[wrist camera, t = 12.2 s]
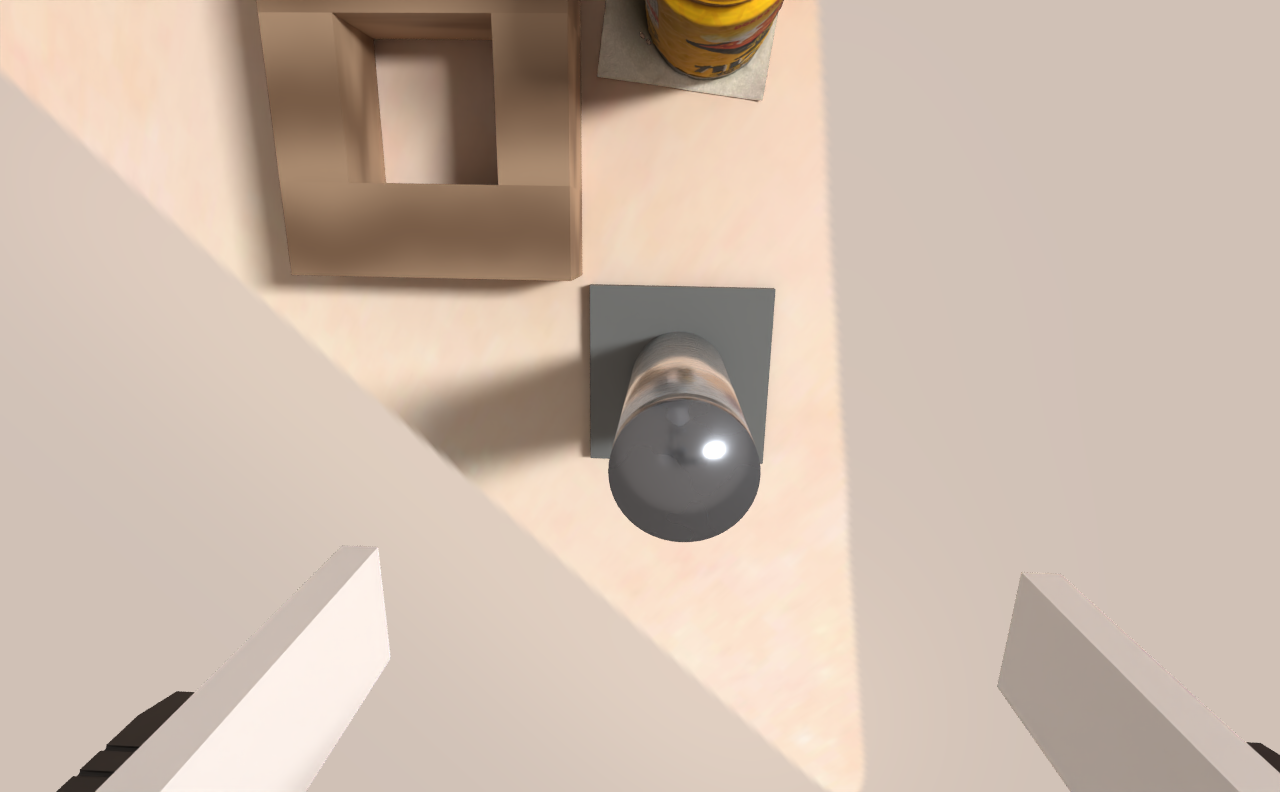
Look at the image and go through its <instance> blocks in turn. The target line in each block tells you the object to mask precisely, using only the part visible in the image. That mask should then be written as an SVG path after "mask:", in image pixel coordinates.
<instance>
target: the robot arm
mask: <svg viewBox="0 0 1280 792" xmlns="http://www.w3.org/2000/svg"><path fill="white" fill-rule="evenodd" d="M390 658H391V657H390V648H389V640H388V630H387V621H386V613H385V604H384V595H383V586H382V578H381V568H380V560H379V551H378V547H367V546H341V547H340V548H339V549H338V550H337V551H336V552H335V553H334V554H333V555H332V556H331V557H330V558H329V559H328V560H327V561H326V562H325V563H324V564H323V565H322V566H321V567H320V568H319V569H318V570H317V571H316V572H315V573H314V574H313V575H312V576H311V577H310V578H309V579H308V580H307V581H306V582H305V583H304V584H303V585H302V586H301V587H300V588H299V589H298V590H297V591H296V592H295V593H294V594H293V595H292V596H291V597H290V598H289V599H288V600H287V601H286V602H285V603H284V604H283V605H282V606H281V607H280V608H279V609H278V610H277V611H276V612H275V613H274V614H273V615H272V616H271V617H270V618H269V619H268V620H267V621H266V622H265V623H264V624H263V625H262V626H261V627H260V628H259V629H258V630H257V631H256V632H255V633H254V634H253V635H252V636H251V637H250V638H249V639H248V640H247V641H246V642H245V643H244V644H243V645H242V646H241V647H240V648H239V649H238V650H237V651H236V652H235V653H234V654H233V655H232V656H231V657H230V658H229V659H228V660H227V661H226V662H225V663H224V664H223V665H222V666H221V667H220V668H219V669H218V670H217V671H216V672H215V673H214V674H213V675H212V676H211V677H210V678H209V679H208V680H207V681H206V682H205V683H204V684H203V685H202V686H201V687H200V688H199V689H198V690H197V691H196V692H179V691H178V692H175V693H174V694H172V695H170V696H169V697H167V698H166V699H164V700H162V701H161V702H159V703H157V704H156V705H154V706H153V707H151V708H150V709H148V710H146V711H145V712H143V713H141V714H140V715H138V716H137V717H136V718H135V719H134V720H133V721H132V722H131V723H130V724H128V725H127V726H126V727H125V728H124V729H123V730H122V731H121V732H120V733H119V734H118V735H117V736H116V737H115V738H113V739H112V740H111V741H110V742H109V743H108V744H107V747H106V749H105V750H104V751H100V752H98V753H97V754H96V755H95V756H94V757H93V758H92V759H91V760H90V761H89V762H88V763H87V764H86V765H85V766H84V767H82V769H80V773H79V775H78V776H76V777H75V776H73V777H72V778H71V779H70V780H68V782H66V783H65V784H64V785H63V786H62V787H61V788H60V789H59V790H58V791H57V792H306V790H307V789H308V787H309V786H310V784H311V783H312V781H313V780H314V778H315V776H316V775H317V773H318V772H319V770H320V768H321V767H322V765H323V764H324V762H325V761H326V759H327V758H328V756H329V754H330V753H331V751H332V750H333V748H334V746H335V745H336V743H337V742H338V740H339V739H340V737H341V735H342V734H343V732H344V731H345V729H346V728H347V726H348V724H349V723H350V721H351V720H352V718H353V717H354V715H355V714H356V712H357V710H358V709H359V707H360V706H361V704H362V702H363V701H364V699H365V698H366V696H367V695H368V693H369V691H370V690H371V688H372V686H373V685H374V684H375V682H376V680H377V679H378V677H379V676H380V674H381V673H382V671H383V669H384V668H385V666H386V665H387V663H388V661H389V660H390ZM997 687H998V688H999V690H1000V691H1001V693H1002V694H1003V696H1004V697H1005V699H1006V700H1007V701H1008V703H1009V704H1010V706H1011V707H1012V709H1013V710H1014V711H1015V713H1016V714H1017V716H1018V717H1019V718H1020V720H1021V721H1022V723H1023V724H1024V726H1025V727H1026V729H1027V730H1028V731H1029V733H1030V734H1031V736H1032V737H1033V739H1034V740H1035V741H1036V743H1037V744H1038V746H1039V747H1040V749H1041V750H1042V751H1043V753H1044V754H1045V756H1046V757H1047V759H1048V760H1049V761H1050V763H1051V764H1052V766H1053V767H1054V769H1055V770H1056V772H1057V773H1058V774H1059V776H1060V777H1061V779H1062V780H1063V782H1064V783H1065V784H1066V786H1067V787H1068V789H1069V790H1070V792H1280V755H1278V754H1277V753H1276V752H1274V751H1272V750H1271V749H1269V748H1267V747H1266V746H1264V745H1263V744H1261V743H1249V742H1245V741H1244V740H1243V739H1242V738H1241V737H1240V736H1238V735H1237V734H1236V733H1235V732H1234V731H1233V730H1232V729H1231V728H1230V727H1228V726H1227V725H1226V724H1225V723H1224V722H1223V721H1222V720H1221V719H1220V718H1219V717H1217V716H1216V715H1215V714H1214V713H1213V712H1212V711H1211V710H1210V709H1209V708H1207V706H1205V705H1204V704H1203V703H1202V702H1201V701H1200V700H1199V699H1198V698H1197V697H1196V696H1194V695H1193V694H1192V693H1191V692H1190V691H1189V690H1188V689H1187V688H1186V687H1185V686H1184V685H1182V684H1181V683H1180V682H1179V681H1178V680H1177V679H1176V678H1175V677H1174V676H1172V675H1171V674H1170V673H1169V672H1168V671H1167V670H1166V669H1165V668H1164V667H1163V666H1162V665H1160V664H1159V663H1158V662H1157V661H1156V660H1155V659H1154V658H1153V657H1152V656H1151V655H1149V654H1148V653H1147V652H1146V651H1145V650H1144V649H1143V648H1142V647H1141V646H1140V645H1138V644H1137V643H1136V642H1135V641H1134V640H1133V639H1132V638H1131V637H1130V636H1128V635H1127V634H1126V633H1125V632H1124V631H1123V630H1122V629H1121V628H1120V627H1119V626H1118V625H1116V624H1115V623H1114V622H1113V621H1112V620H1111V619H1110V618H1109V617H1108V616H1106V615H1105V614H1104V613H1103V612H1102V611H1101V610H1100V609H1099V608H1098V607H1097V606H1096V605H1094V604H1093V603H1092V602H1091V601H1090V600H1089V599H1088V598H1087V597H1086V596H1085V595H1083V594H1082V593H1081V592H1080V591H1079V590H1078V589H1077V588H1076V587H1075V586H1073V585H1072V584H1071V583H1070V582H1069V581H1068V580H1067V579H1066V578H1065V577H1064V576H1063V575H1061V574H1052V573H1028V572H1021V577H1020V581H1019V586H1018V591H1017V595H1016V600H1015V605H1014V610H1013V614H1012V619H1011V624H1010V629H1009V633H1008V638H1007V642H1006V648H1005V652H1004V657H1003V661H1002V666H1001V671H1000V676H999V680H998V685H997Z"/></svg>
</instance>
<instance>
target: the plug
mask: <svg viewBox="0 0 1280 792" xmlns="http://www.w3.org/2000/svg"><path fill="white" fill-rule="evenodd" d="M608 474H609V483H610V488H611V491H612V494H613V497H614V499H615V501H616V503H617V505H618V507H619V508H620V510H621V511H622V512H623V514H624V515H625V516H626V517H627V518H628V519H629V520H630V521H631V522H632V523H633V524H634V525H636V526H637V527H638V528H640V529H641V530H643V531H644V532H646V533H648V534H650V535H652V536H655V537H658V538H661V539H664V540H669V541H675V542H694V541H701V540H705V539H708V538H711V537H714V536H716V535H719V534H721V533H723V532H724V531H726V530H728V529H729V528H731V527H732V526H733V525H735V524H736V523H737V522H738V521H739V520H740V519H741V518H742V517H743V516H744V515H745V513H746V512H747V511H748V509H749V508H750V506H751V505H752V503H753V501H754V499H755V496H756V494H757V491H758V487H759V482H760V461H759V456H758V453H757V449H756V446H755V444H754V441H753V439H752V436H751V433H750V431H749V428H748V426H747V423H746V420H745V418H744V415H743V413H742V410H741V408H740V405H739V402H738V400H737V397H736V395H735V392H734V389H733V387H732V384H731V382H730V379H729V376H728V374H727V371H726V369H725V366H724V363H723V361H722V359H721V356H720V355H719V353H718V351H717V350H716V349H715V348H714V346H713V345H712V344H710V343H709V342H708V341H707V340H705V339H704V338H702V337H700V336H698V335H695V334H693V333H688V332H670V333H666V334H663V335H660V336H658V337H656V338H655V339H653V340H651V341H650V342H649V343H648V344H647V345H646V346H645V347H644V348H643V349H642V350H641V352H640V353H639V355H638V357H637V359H636V361H635V364H634V368H633V371H632V375H631V379H630V383H629V387H628V390H627V394H626V398H625V402H624V405H623V409H622V413H621V417H620V421H619V424H618V428H617V432H616V436H615V440H614V443H613V447H612V451H611V455H610V460H609V469H608Z"/></svg>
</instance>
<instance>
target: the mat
mask: <svg viewBox="0 0 1280 792" xmlns="http://www.w3.org/2000/svg"><path fill="white" fill-rule="evenodd" d="M774 301H775V289H774V288H737V287H691V286H645V285H598V284H591V285H590V417H591V458H608V459H610V455H611V451H612V447H613V443H614V440H615V436H616V432H617V428H618V424H619V421H620V417H621V413H622V409H623V405H624V402H625V398H626V394H627V390H628V387H629V383H630V379H631V375H632V371H633V368H634V364H635V361H636V359H637V357H638V355H639V353H640V352H641V350H642V349H643V348H644V347H645V346H646V345H647V344H648V343H649V342H650V341H651V340H653V339H655V338H656V337H658V336H660V335H663V334H666V333H670V332H688V333H693V334H695V335H698V336H700V337H702V338H704V339H705V340H707V341H708V342H709V343H710V344H712V345H713V346H714V348H715V349H716V350H717V351H718V353H719V355H720V356H721V359H722V361H723V363H724V366H725V369H726V371H727V374H728V376H729V379H730V382H731V384H732V387H733V389H734V392H735V395H736V397H737V400H738V402H739V405H740V408H741V410H742V413H743V415H744V418H745V420H746V423H747V426H748V428H749V431H750V433H751V436H752V439H753V441H754V444H755V446H756V449H757V453H758V456H759V461H760V464H762V463H763V450H764V436H765V423H766V409H767V396H768V382H769V369H770V355H771V342H772V328H773V314H774Z"/></svg>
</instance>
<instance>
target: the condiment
mask: <svg viewBox="0 0 1280 792" xmlns="http://www.w3.org/2000/svg"><path fill="white" fill-rule="evenodd" d="M783 1H784V0H606V3H605V9H606V10H605V13H604V21H603V29H602V39H601V48H600V56H599V64H598V73H597V77H603V78H611V79H617V80H623V81H631V82H638V83H645V84H650V85H659V86H664V87H671V88H677V89H683V90H689V91H696V92H704V93H710V94H717V95H723V96H730V97H738V98H744V99H751V100H761V101H762V100H763V95H764V89H765V84H766V78H767V72H768V67H769V61H770V55H771V49H772V44H773V39H774V33H775V27H776V22H777V16H778V11H779V10H780V9H781V7H782V4H783ZM640 32H642V33H643V34H644V36H645V38H644V39H643V38H642V37H641V36H640ZM647 39H649V40H650V42H651V44H650V45H648V44H647V42H646V41H647Z"/></svg>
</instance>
